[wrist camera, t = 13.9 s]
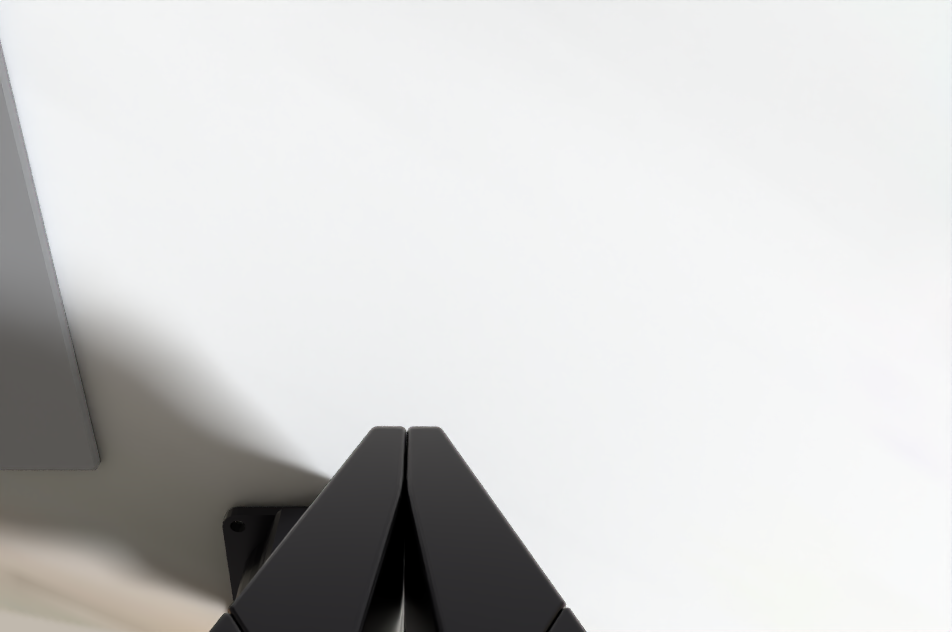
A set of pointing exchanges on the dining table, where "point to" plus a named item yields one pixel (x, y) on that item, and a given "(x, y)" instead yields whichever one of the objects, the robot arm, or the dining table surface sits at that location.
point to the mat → (34, 326)
